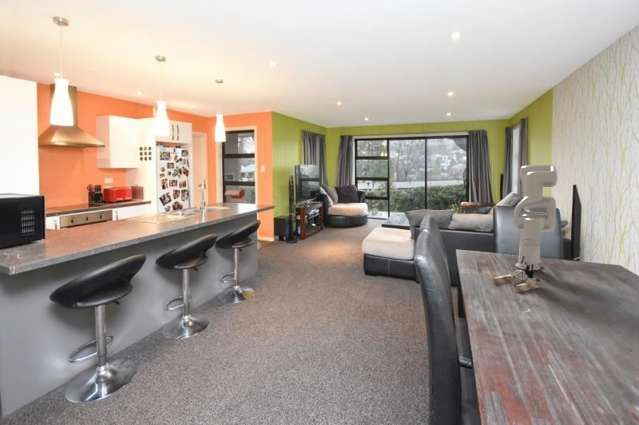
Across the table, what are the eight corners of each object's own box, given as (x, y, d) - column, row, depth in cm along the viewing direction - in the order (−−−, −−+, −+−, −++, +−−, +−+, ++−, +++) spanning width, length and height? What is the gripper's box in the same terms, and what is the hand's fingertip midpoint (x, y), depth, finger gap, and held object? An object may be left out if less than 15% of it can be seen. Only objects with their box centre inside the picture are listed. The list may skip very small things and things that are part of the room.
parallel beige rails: (513, 279, 181) (513, 272, 180) (540, 287, 168) (540, 279, 168) (492, 283, 174) (492, 276, 174) (518, 292, 161) (519, 284, 161)
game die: (519, 290, 174) (527, 274, 175) (527, 290, 166) (536, 272, 167) (502, 281, 176) (511, 264, 177) (509, 280, 168) (519, 263, 169)
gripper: (533, 239, 179) (531, 273, 181) (514, 242, 173) (512, 277, 175) (548, 242, 172) (545, 277, 174) (528, 245, 166) (526, 281, 168)
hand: (529, 277), depth 175 cm, fingers closed
